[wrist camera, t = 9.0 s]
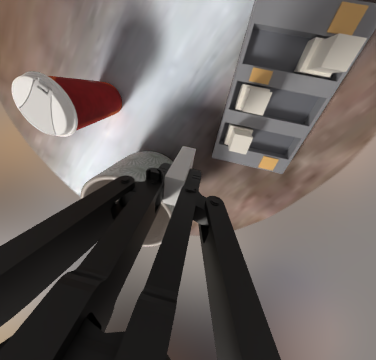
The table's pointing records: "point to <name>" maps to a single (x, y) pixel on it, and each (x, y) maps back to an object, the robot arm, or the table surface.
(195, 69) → the table surface
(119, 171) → the concrete flower pot
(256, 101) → the tab
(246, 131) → the tab
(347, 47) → the tab
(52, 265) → the robot arm
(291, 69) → the switch bank
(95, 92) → the paper cup
